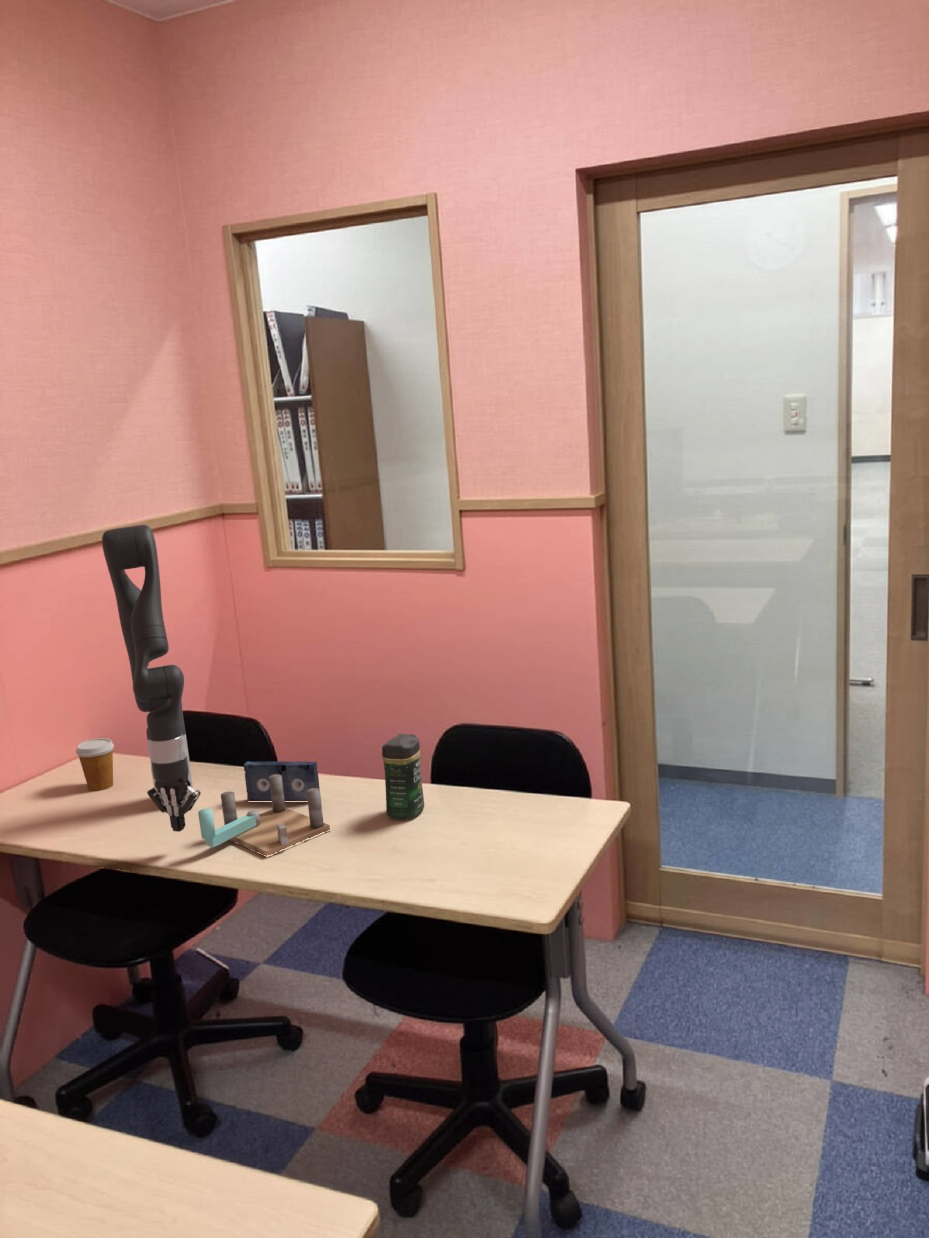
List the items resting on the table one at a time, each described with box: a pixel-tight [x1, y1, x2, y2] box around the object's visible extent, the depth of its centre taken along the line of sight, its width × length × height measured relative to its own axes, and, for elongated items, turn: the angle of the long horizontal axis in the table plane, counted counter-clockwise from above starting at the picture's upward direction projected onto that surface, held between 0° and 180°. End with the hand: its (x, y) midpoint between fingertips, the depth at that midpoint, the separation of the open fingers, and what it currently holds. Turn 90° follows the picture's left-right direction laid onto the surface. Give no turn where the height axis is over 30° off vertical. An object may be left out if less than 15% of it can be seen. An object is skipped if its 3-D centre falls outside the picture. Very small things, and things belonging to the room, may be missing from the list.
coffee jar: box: [381, 733, 425, 821], centre depth 234 cm, size 10×8×19 cm
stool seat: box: [220, 774, 331, 856], centre depth 228 cm, size 20×17×10 cm
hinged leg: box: [197, 808, 260, 848], centre depth 225 cm, size 16×3×8 cm, turn 145°
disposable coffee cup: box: [75, 737, 115, 792], centre depth 266 cm, size 10×10×12 cm
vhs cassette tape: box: [243, 760, 321, 802], centre depth 248 cm, size 18×3×10 cm, turn 78°
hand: (178, 830), depth 222 cm, fingers closed
